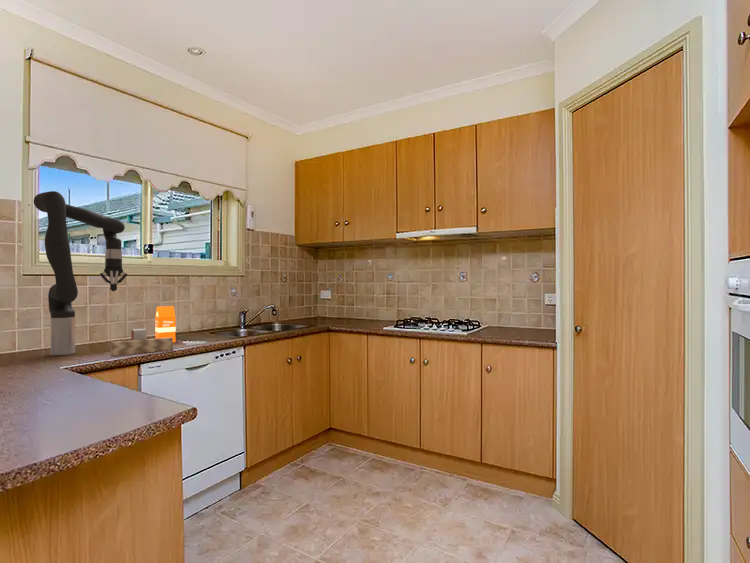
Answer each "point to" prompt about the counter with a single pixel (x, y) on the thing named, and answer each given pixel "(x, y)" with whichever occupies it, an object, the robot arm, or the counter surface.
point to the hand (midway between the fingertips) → (113, 291)
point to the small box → (138, 334)
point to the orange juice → (165, 322)
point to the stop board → (141, 346)
